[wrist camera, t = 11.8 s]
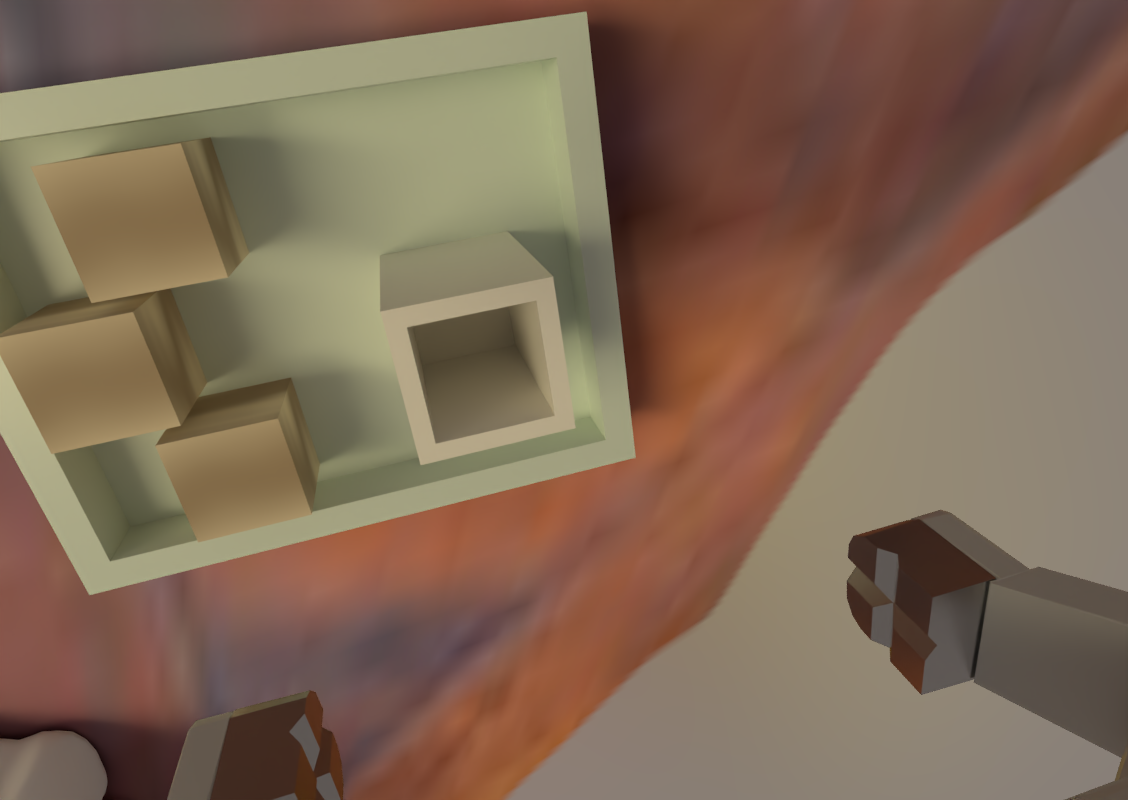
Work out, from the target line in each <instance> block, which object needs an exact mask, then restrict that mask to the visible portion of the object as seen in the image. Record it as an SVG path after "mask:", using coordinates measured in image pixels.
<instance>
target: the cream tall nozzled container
mask: <svg viewBox="0 0 1128 800" xmlns="http://www.w3.org/2000/svg"><path fill="white" fill-rule="evenodd" d="M107 782H108V781H107V775H106V771H105V768H104V766H103V764H102V762H101V759H100V757H99V755H98V753H97V751H96V749H95V748H94V747H93V746H92V745H91V744H90V743H89V742H88V740H87V739H85V738H84V737H82V736H80V735H78V734H76V733H74V732H73V731H58V730H57V731H42V732H39V733H37V734H34V735H32V736H29V737H26V738H23V739H20V740H15V739H1V738H0V800H102V798H103V796H104V794H105V792H106V788H107Z"/></svg>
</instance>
